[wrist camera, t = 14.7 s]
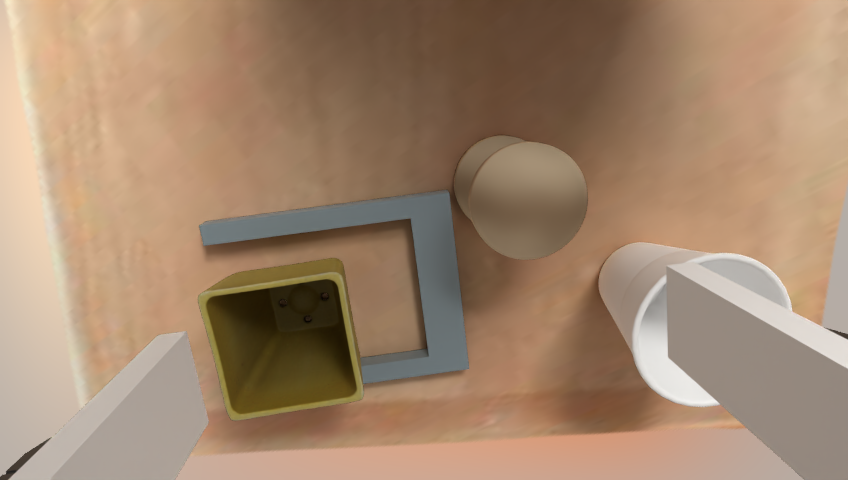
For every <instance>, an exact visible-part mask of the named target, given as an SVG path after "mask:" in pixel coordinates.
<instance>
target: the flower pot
mask: <svg viewBox="0 0 848 480" xmlns="http://www.w3.org/2000/svg"><path fill="white" fill-rule="evenodd" d="M323 293H327V294H328V299H326V300H324V299H322V298H321V295H322V294H323ZM282 299H284V300H286V301H287V304H286V305H285V306H282V305H280V303H279V302H280V300H282ZM198 303H199V307H200V311H201V315H202V318H203V321H204V325H205V328H206V331H207V335H208V339H209V342H210V346H211V349H212V353H213V356H214V360H215V364H216V368H217V373H218V377H219V382H220V386H221V390H222V394H223V399H224V404H225V408H226V411H227V413H228V415H229V417H230V419H231V420H232V421H238V420H245V419H251V418H257V417H263V416H269V415H274V414H280V413H287V412H293V411H299V410H306V409H312V408H318V407H325V406H332V405H338V404H345V403H350V402H355V401H359V400H362V399H363V396H364V386H363V378H362V369H361V360H360V353H359V348H358V343H357V338H356V333H355V328H354V323H353V318H352V312H351V306H350V301H349V295H348V289H347V283H346V277H345V271H344V266H343V263H342V261H341V260H339V259H337V258H328V259H323V260H317V261H311V262H304V263H298V264H292V265H285V266H278V267H271V268H264V269H257V270H249V271H243V272H238V273H235V274H233V275H230V276H228V277H227V278H225V279H223V280H222V281H220V282H219V283H217V284H215V285H214V286H212V287H210V288H209V289H207V290H206V291H204V292H202V293H201V294H200V295H199V296H198ZM307 315H308V316H311V318H312V320H311V321H310V322H306V321H305V320H304V317H305V316H307Z"/></svg>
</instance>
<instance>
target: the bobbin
mask: <svg viewBox="0 0 848 480" xmlns="http://www.w3.org/2000/svg"><path fill="white" fill-rule="evenodd" d="M454 192H455V197H456V200H457V202H458V204H459V206H460V208H461V209H462V211H463V212H464V214H465V215H466V216H467V217H468V218H469V219H470V220H471V221H472V223H473V225H474V227H475V229H476V231H477V232H478V234H479V235H480V236H481V238H482V239H483V240H484V241H485V243H486V244H487V245H489V246H490V247H491V248H492V249H493V250H495V251H496V252H498V253H500V254H502V255H504V256H507V257H510V258H514V259H520V260H531V259H538V258H542V257H545V256H548V255H550V254H553V253H555V252H556V251H558V250H560V249H561V248H563V247H564V246H565V245H566V244H567V243H568V242H569V241H570V240H571V239H572V238H573V237H574V236H575V234H576V233H577V232H578V230H579V228H580V227H581V225H582V223H583V220H584V218H585V214H586V211H587V204H588V192H587V186H586V182H585V179H584V176H583V174H582V172H581V170H580V168H579V167H578V165H577V164H576V163H575V162H574V160H573V159H572V158H571V157H570V156H569V155H567V154H566V153H564V152H563V151H562V150H560V149H558V148H556V147H553V146H551V145H548V144H543V143H538V142H529V141H527V142H526V141H524V140H522V139H520V138H517V137H512V136H506V135H498V136H491V137H488V138H485V139H482V140H480V141H478V142H477V143H475V144H474V145H472V146H471V147H470V148H469V149H468V150H467V151H466V152H465V153H464V155H463V156H462V158H461V159H460V161H459V163H458V165H457V168H456V170H455V175H454Z"/></svg>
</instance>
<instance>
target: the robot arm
mask: <svg viewBox="0 0 848 480" xmlns="http://www.w3.org/2000/svg"><path fill="white" fill-rule="evenodd" d="M666 283H667V337H668V358H669V359H670V360H671V361H673V362H674V363H675V364H676V365H677V366H678V367H679V368H680V369H682V370H683V371H684V372H685V373H686V374H687V375H688V376H689V377H690V378H692V379H693V380H694V381H695V382H696V383H697V384H698V385H699V386H700V387H702V388H703V389H704V390H705V391H706V392H707V393H708V394H709V395H711V396H712V397H713V398H714V399H715V400H716V401H717V402H718V403H719V404H721V405H722V406H723V407H724V408H725V409H726V410H727V411H728V412H729V413H731V414H732V415H733V416H734V417H735V418H736V419H737V420H738V421H739V422H741V423H742V424H743V425H744V426H745V427H746V428H747V429H748V430H750V431H751V432H752V433H753V434H754V435H755V436H756V437H757V438H759V439H760V440H761V441H762V442H763V443H764V444H765V445H766V446H767V447H768V448H770V449H771V450H772V451H773V452H774V453H775V454H776V455H777V456H779V457H780V458H781V459H782V460H783V461H784V462H785V463H786V464H787V465H789V466H790V467H791V468H792V469H793V470H794V471H795V472H796V473H797V474H799V475H800V476H801V477H802V478H803V479H804V480H848V334H845V333H841V332H838V331H835V330H831V329H828V328H824V327H822V326H820V325H818V324H816V323H814V322H812V321H810V320H808V319H806V318H804V317H802V316H800V315H798V314H796V313H794V312H792V311H790V310H788V309H786V308H784V307H782V306H780V305H778V304H776V303H774V302H772V301H770V300H768V299H766V298H764V297H762V296H760V295H758V294H756V293H754V292H752V291H750V290H748V289H746V288H744V287H742V286H740V285H738V284H736V283H734V282H732V281H730V280H729V279H727V278H725V277H723V276H721V275H719V274H717V273H715V272H713V271H711V270H709V269H707V268H705V267H703V266H701V265H699V264H697V263H695V262H688V263H681V264H674V265H666ZM208 423H209V421H208V417H207V412H206V408H205V404H204V400H203V396H202V392H201V388H200V384H199V380H198V376H197V371H196V367H195V363H194V359H193V355H192V351H191V347H190V343H189V339H188V334H187V331H184V332H176V333H169V334H162V335H157V336H156V337H155V338H154V339H153V340H152V341H151V342H150V343H149V344H148V345H147V346H146V347H145V348H144V349H143V350H142V351H141V352H140V353H139V354H138V355H137V356H136V357H135V358H134V359H133V360H132V361H131V362H130V363H128V364H127V365H126V366H125V367H124V368H123V369H122V370H121V371H120V372H119V373H118V374H117V375H116V376H115V377H114V378H113V379H112V380H111V381H110V382H109V383H108V384H107V385H106V386H105V387H104V388H103V389H102V390H101V391H100V392H98V393H97V394H96V395H95V396H94V397H93V398H92V399H91V400H90V401H89V402H88V403H87V404H86V405H85V406H84V407H83V408H82V409H81V410H80V411H79V412H78V413H77V414H76V415H75V416H74V417H73V418H72V419H71V420H70V421H69V422H68V423H66V424H65V425H64V426H63V427H62V428H61V429H60V430H59V431H58V432H57V433H56V434H55V435H54V436H53V437H51V438H49V439H48V440H46V441H44V442H43V443H41V444H40V445H38V446H37V447H35V448H33V449H32V450H30V451H29V452H27V453H25V454H24V455H23V456H22V457H21V458H20V459H19V460H18V461H17V462H16V463H15V464H14V465H12V466H11V467H10V468H9V469H8V470H7V471H6V474H5V475H2V476H1V477H0V480H175V479H176V477H177V476H178V474H179V472H180V471H181V469H182V467H183V465H184V464H185V462H186V460H187V459H188V457H189V455H190V454H191V452H192V450H193V448H194V447H195V445H196V443H197V442H198V440H199V438H200V436H201V435H202V433H203V431H204V430H205V428H206V426H207V424H208Z"/></svg>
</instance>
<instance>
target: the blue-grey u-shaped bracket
mask: <svg viewBox="0 0 848 480" xmlns="http://www.w3.org/2000/svg"><path fill="white" fill-rule="evenodd" d="M410 218H411V226H412V233H413V241H414V248H415V256H416V264H417V271H418V279H419V286H420V294H421V301H422V309H423V317H424V324H425V332H426V339H427V347H428V349H421V350H414V351H406V352H399V353H392V354H385V355H378V356H371V357H363V358H360V360H361V369H362V378H363V384H366V383H373V382H380V381H387V380H395V379H402V378H409V377H416V376H423V375H430V374H437V373H444V372H451V371H459V370H466V369H469V362H468V353H467V344H466V336H465V327H464V318H463V309H462V300H461V291H460V283H459V274H458V265H457V256H456V247H455V238H454V230H453V221H452V212H451V203H450V194H449V191H448V190H441V191H433V192H426V193H418V194H411V195H403V196H395V197H388V198H380V199H373V200H365V201H357V202H350V203H342V204H334V205H327V206H319V207H312V208H304V209H296V210H289V211H281V212H274V213H266V214H258V215H251V216H243V217H236V218H228V219H220V220H213V221H206V222H204V223H203V224H201V225H199V227H200V232H201V236H202V241H203V245H204V246H206V245H214V244H221V243H229V242H236V241H244V240H251V239H259V238H266V237H274V236H282V235H289V234H297V233H304V232H312V231H319V230H327V229H334V228H342V227H349V226H357V225H364V224H372V223H380V222H387V221H395V220H402V219H410Z"/></svg>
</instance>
